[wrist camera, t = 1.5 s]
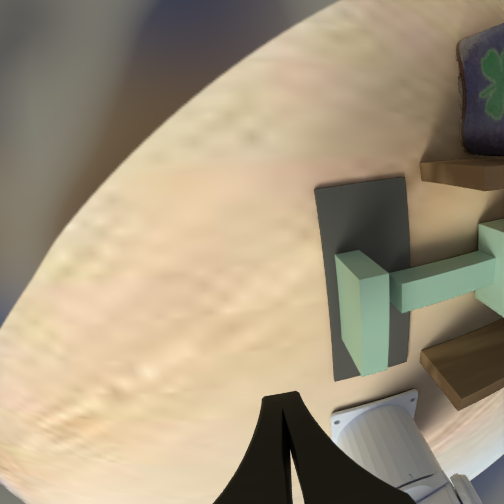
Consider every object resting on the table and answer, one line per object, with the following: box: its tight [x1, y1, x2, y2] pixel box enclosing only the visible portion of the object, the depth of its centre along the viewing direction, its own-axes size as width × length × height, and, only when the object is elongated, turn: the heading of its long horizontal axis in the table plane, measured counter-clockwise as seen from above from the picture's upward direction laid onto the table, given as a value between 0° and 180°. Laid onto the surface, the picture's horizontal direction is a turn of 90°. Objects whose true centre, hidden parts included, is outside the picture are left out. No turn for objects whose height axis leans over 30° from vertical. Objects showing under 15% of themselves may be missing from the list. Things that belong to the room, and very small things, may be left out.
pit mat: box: [314, 177, 410, 382], centre depth 20 cm, size 14×6×1 cm, turn 10°
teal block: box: [335, 218, 504, 377], centre depth 17 cm, size 6×20×5 cm, turn 100°
